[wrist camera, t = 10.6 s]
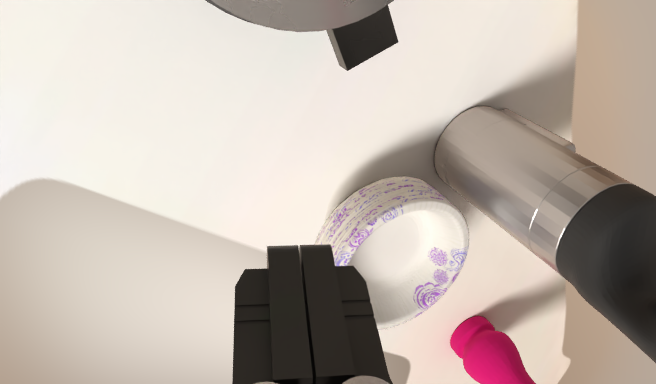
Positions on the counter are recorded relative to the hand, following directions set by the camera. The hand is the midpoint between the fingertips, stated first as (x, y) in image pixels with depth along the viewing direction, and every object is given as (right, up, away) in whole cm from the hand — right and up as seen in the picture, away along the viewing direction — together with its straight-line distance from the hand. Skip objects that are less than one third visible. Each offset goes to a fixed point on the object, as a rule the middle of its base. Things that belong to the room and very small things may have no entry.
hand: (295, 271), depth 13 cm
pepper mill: (+20, -17, +61) cm, 67 cm away
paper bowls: (+5, -2, +44) cm, 44 cm away
